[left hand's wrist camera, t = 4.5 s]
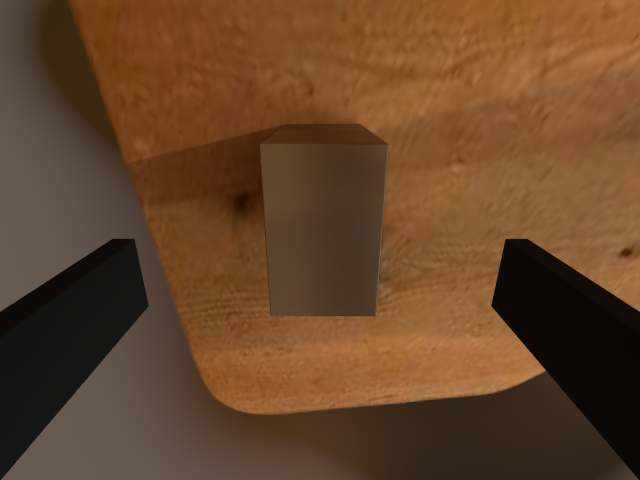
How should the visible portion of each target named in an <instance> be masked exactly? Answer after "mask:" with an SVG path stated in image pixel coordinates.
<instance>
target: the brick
mask: <svg viewBox="0 0 640 480" xmlns="http://www.w3.org/2000/svg"><path fill="white" fill-rule="evenodd" d="M259 148H260V163H261V178H262V193H263V208H264V223H265V238H266V253H267V269H268V284H269V299H270V314H271V316H376V309H377V295H378V282H379V269H380V255H381V242H382V229H383V215H384V202H385V189H386V176H387V162H388V149H389V144H387V143H386V142H385V141H383V140H382V139H380V138H379V137H378V136H376V135H375V134H373V133H372V132H371V131H369V130H368V129H366V128H365V127H364V126H362V125H361V124H286V125H284V126H283V127H282V128H280V129H279V130H278V131H276V132H275V133H274V134H272V135H271V136H270V137H268V138H267V139H266V140H264V141H263V142H262V143H260V145H259Z"/></svg>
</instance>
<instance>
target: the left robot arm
mask: <svg viewBox="0 0 640 480" xmlns="http://www.w3.org/2000/svg"><path fill="white" fill-rule="evenodd" d="M148 306H149V305H148V301H147V296H146V291H145V287H144V282H143V277H142V273H141V268H140V263H139V259H138V254H137V249H136V245H135V240H134V239H112V240H110V241H109V242H107V243H106V244H104V245H103V246H101V247H99V248H98V249H96V250H95V251H93V252H92V253H90V254H89V255H87V256H86V257H84V258H83V259H81V260H79V261H78V262H76V263H75V264H73V265H72V266H70V267H69V268H67V269H66V270H64V271H62V272H61V273H59V274H58V275H56V276H55V277H53V278H52V279H50V280H49V281H47V282H46V283H44V284H43V285H41V286H39V287H38V288H36V289H35V290H33V291H32V292H30V293H29V294H27V295H26V296H24V297H22V298H21V299H19V300H18V301H16V302H15V303H13V304H12V305H10V306H9V307H7V308H5V309H4V310H2V311H1V312H0V480H1V479H2V478H3V477H4V475H5V474H6V473H7V472H8V471H9V470H10V469H11V467H12V466H13V465H14V464H15V463H16V461H17V460H18V459H19V458H20V457H21V456H22V454H23V453H24V452H25V451H26V450H27V448H28V447H29V446H30V445H31V444H32V443H33V441H34V440H35V439H36V438H37V437H38V435H39V434H40V433H41V432H42V431H43V430H44V429H45V427H46V426H47V425H48V424H49V423H50V421H51V420H52V419H53V418H54V417H55V416H56V414H57V413H58V412H59V411H60V410H61V409H62V407H63V406H64V405H65V404H66V403H67V401H68V400H69V399H70V398H71V397H72V396H73V394H74V393H75V392H76V391H77V390H78V388H79V387H80V386H81V385H82V384H83V383H84V381H85V380H86V379H87V378H88V377H89V376H90V374H91V373H92V372H93V371H94V370H95V368H96V367H97V366H98V365H99V364H100V363H101V361H102V360H103V359H104V358H105V357H106V356H107V354H108V353H109V352H110V351H111V350H112V348H113V347H114V346H115V345H116V344H117V343H118V341H119V340H120V339H121V338H122V337H123V336H124V334H125V333H126V332H127V331H128V330H129V329H130V327H131V326H132V325H133V324H134V323H135V321H136V320H137V319H138V318H139V317H140V316H141V314H142V313H143V312H144V311H145V310H146V309H147V307H148ZM491 306H492V307H493V309H494V310H495V311H496V312H497V313H498V314H499V316H500V317H501V318H502V319H503V320H504V321H505V323H506V324H507V325H508V326H509V327H510V329H511V330H512V331H513V332H514V333H515V334H516V336H517V337H518V338H519V339H520V340H521V341H522V343H523V344H524V345H525V346H526V347H527V349H528V350H529V351H530V352H531V353H532V354H533V356H534V357H535V358H536V359H537V360H538V361H539V363H540V364H541V365H542V366H543V367H544V369H545V370H546V371H547V372H548V373H549V374H550V376H551V377H552V378H553V379H554V380H555V381H556V383H557V384H558V385H559V386H560V387H561V389H562V390H563V391H564V392H565V393H566V394H567V396H568V397H569V398H570V399H571V400H572V401H573V403H574V404H575V405H576V406H577V407H578V409H579V410H580V411H581V412H582V413H583V414H584V416H585V417H586V418H587V419H588V420H589V421H590V423H591V424H592V425H593V426H594V427H595V429H596V430H597V431H598V432H599V433H600V434H601V436H602V437H603V438H604V439H605V440H606V441H607V443H608V444H609V445H610V446H611V447H612V449H613V450H614V451H615V452H616V453H617V454H618V456H619V457H620V458H621V459H622V460H623V461H624V463H625V464H626V465H627V466H628V467H629V469H630V470H631V471H632V472H633V473H634V474H635V476H636V477H637V478H638V479H639V480H640V312H639V311H638V310H636V309H635V308H633V307H631V306H630V305H628V304H627V303H625V302H624V301H622V300H621V299H619V298H618V297H616V296H614V295H613V294H611V293H610V292H608V291H607V290H605V289H604V288H602V287H601V286H599V285H598V284H596V283H594V282H593V281H591V280H590V279H588V278H587V277H585V276H584V275H582V274H581V273H579V272H578V271H576V270H574V269H573V268H571V267H570V266H568V265H567V264H565V263H564V262H562V261H561V260H559V259H557V258H556V257H554V256H553V255H551V254H550V253H548V252H547V251H545V250H544V249H542V248H541V247H539V246H537V245H536V244H534V243H533V242H531V241H530V240H528V239H506V240H505V245H504V249H503V254H502V259H501V263H500V268H499V273H498V277H497V282H496V287H495V291H494V296H493V301H492V305H491Z"/></svg>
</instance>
